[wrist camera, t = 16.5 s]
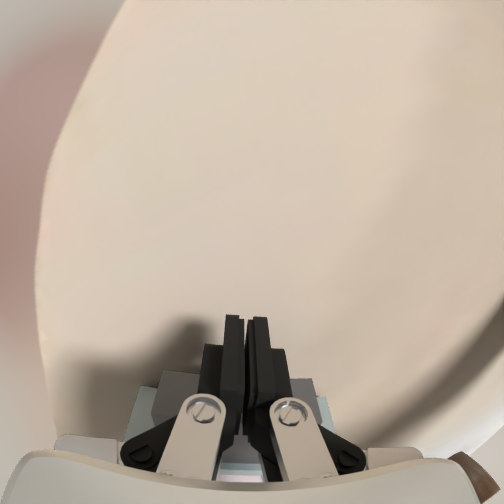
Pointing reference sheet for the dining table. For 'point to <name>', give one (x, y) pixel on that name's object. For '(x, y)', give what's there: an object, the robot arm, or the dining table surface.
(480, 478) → the plant pot
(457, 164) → the dining table surface
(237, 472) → the tray
